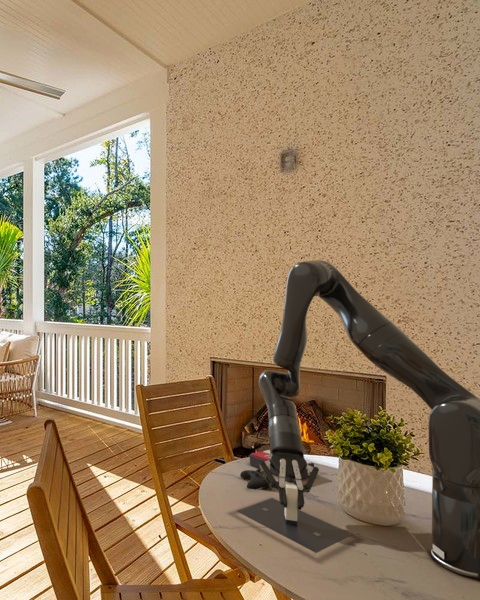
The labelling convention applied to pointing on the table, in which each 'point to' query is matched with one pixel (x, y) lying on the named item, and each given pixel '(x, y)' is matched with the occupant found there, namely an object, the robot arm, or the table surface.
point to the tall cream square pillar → (291, 504)
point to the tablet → (304, 533)
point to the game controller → (255, 479)
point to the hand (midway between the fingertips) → (292, 507)
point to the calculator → (265, 456)
